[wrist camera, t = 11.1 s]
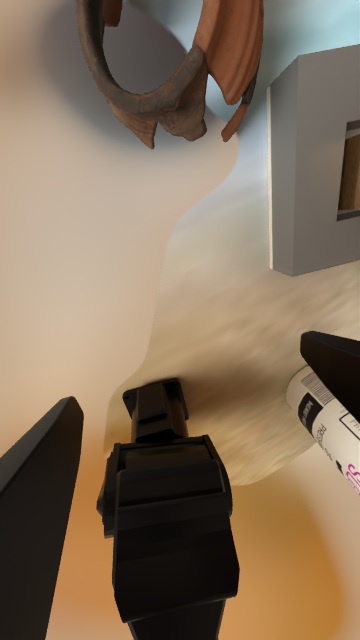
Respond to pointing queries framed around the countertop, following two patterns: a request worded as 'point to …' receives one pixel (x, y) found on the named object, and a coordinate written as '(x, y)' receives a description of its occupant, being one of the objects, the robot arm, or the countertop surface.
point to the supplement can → (327, 422)
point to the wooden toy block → (350, 175)
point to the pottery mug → (182, 68)
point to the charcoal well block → (312, 161)
